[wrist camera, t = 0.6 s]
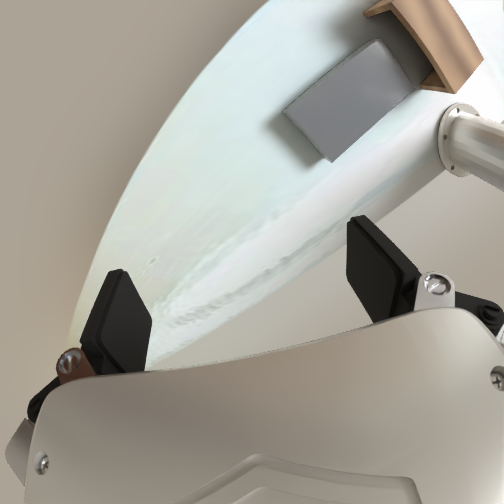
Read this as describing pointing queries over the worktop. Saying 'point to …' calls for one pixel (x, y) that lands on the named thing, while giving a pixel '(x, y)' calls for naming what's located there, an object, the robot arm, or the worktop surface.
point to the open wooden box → (437, 40)
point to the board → (350, 99)
